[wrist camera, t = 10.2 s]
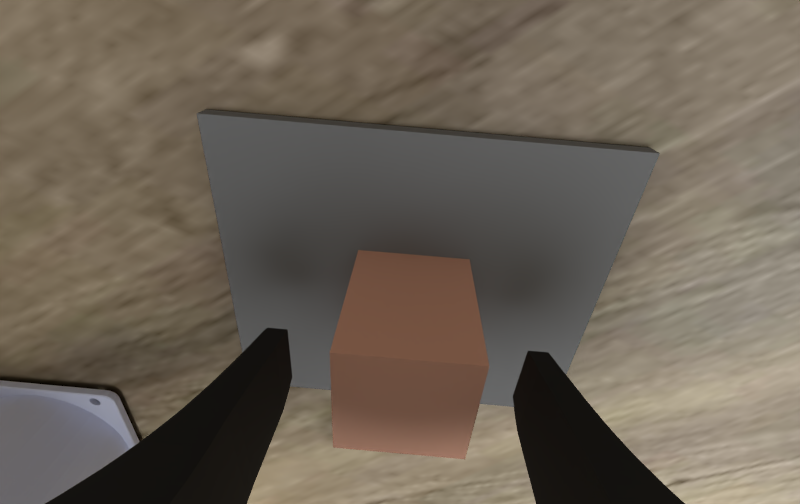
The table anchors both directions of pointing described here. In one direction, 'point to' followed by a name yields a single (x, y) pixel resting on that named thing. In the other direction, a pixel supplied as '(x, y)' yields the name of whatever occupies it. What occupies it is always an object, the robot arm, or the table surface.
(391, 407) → the block
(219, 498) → the robot arm
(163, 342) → the table surface
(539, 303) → the mat
